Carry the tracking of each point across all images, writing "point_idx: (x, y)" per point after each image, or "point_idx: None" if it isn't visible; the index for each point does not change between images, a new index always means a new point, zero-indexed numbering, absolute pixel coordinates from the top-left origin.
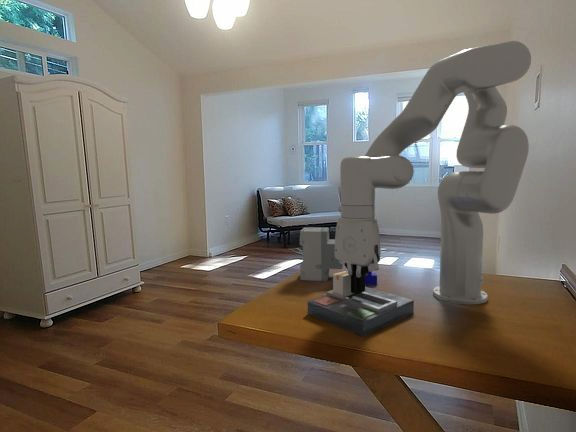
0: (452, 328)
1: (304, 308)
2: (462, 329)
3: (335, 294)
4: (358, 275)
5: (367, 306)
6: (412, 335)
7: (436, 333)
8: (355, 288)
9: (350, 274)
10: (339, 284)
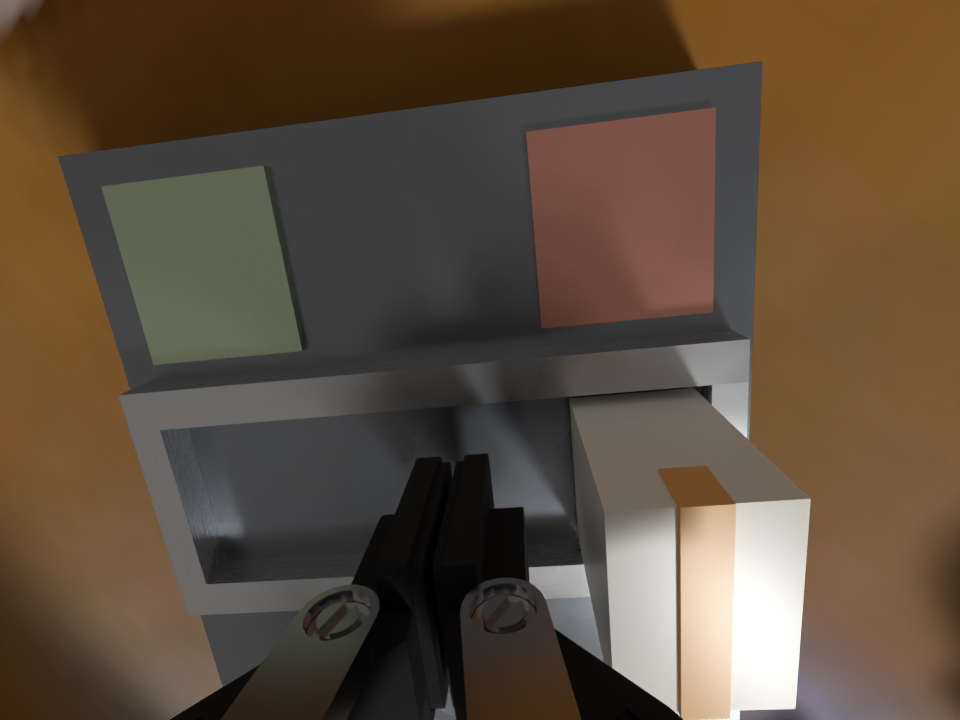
0: (35, 635)
1: (825, 151)
2: (8, 656)
3: (626, 359)
4: (338, 611)
5: (235, 382)
6: (45, 423)
7: (17, 534)
8: (413, 482)
9: (507, 596)
10: (637, 446)
